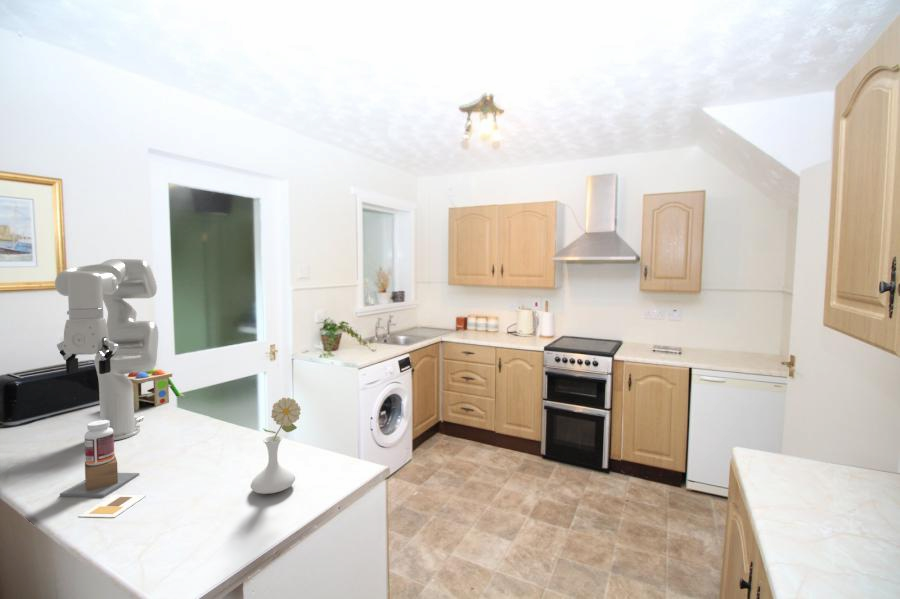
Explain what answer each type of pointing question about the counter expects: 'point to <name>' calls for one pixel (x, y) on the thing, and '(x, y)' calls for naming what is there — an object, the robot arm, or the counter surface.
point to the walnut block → (101, 475)
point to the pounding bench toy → (159, 391)
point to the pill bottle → (99, 443)
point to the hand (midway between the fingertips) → (88, 372)
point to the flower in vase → (274, 474)
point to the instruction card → (112, 506)
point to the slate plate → (81, 489)
